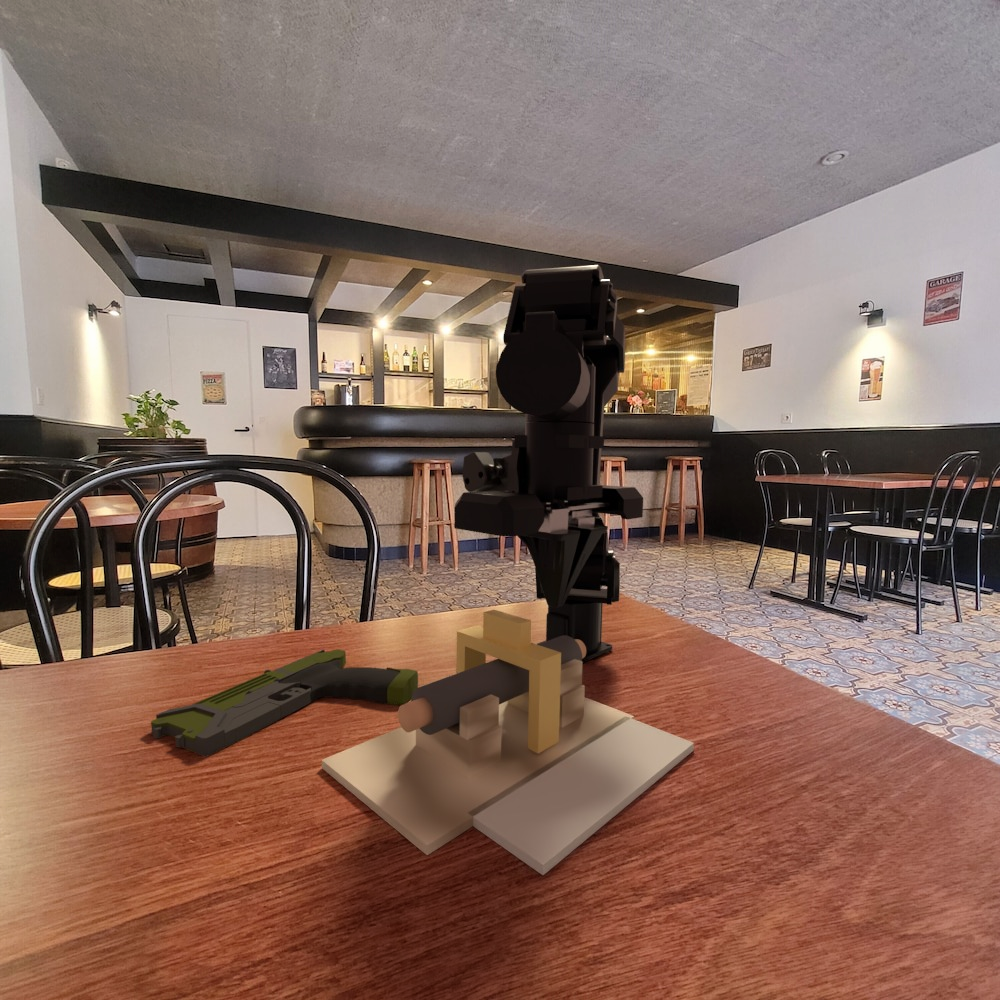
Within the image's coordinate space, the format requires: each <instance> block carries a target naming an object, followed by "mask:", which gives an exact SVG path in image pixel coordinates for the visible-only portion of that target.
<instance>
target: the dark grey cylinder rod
mask: <svg viewBox="0 0 1000 1000" xmlns="http://www.w3.org/2000/svg"><path fill="white" fill-rule="evenodd" d="M545 641H546V640H545ZM542 642H543V641H542ZM539 643H540V642H539ZM538 645H540V646H543V647H546V648H549V649H552V650H555V651H558V652H561V665H562V664H564V663H567V662H569V661H571V660H574V659H576V660H579V661H582V658H584V657H585V655H586V647H585V645H584V643H583V642H582V641H581V640H579V639H575V640H574V639H573V638H572V637H570V636H566V635H563V636H560V637H557V638H554V639H551V640H549V641H546V642H543V643H540V644H538ZM448 676H449V677H447V676H445V677H446V678H444V677H442V678H443V679H442V678H440V679H441V680H439V679H437V680H438V681H436V680H434V681H435V682H433V681H431V682H432V683H430V682H429V683H430V684H428V683H426V684H427V685H425V684H423V685H424V686H422V685H420V686H421V687H419V686H418V687H419V688H417V689H415V690H414V692H413V694H412V697H411V700H410V701H408V702H407V703H406V704H402V705H400V706H399V708H398V710H397V718H398V722H399V725H400V727H402V728H403V730H404V731H406V732H412V731H414V730H416V729H420V730H421V731H422V732H424V733H425V734H428V735H432V734H435V733H437V732H439V731H441V730H444V729H446V728H448V727H450V726H452V725H455V724H457V723H459V722H460V707H462V706H465V705H467V704H469V703H472V702H474V701H476V700H479V699H481V698H484V697H486V696H488V695H491V694H492V695H494V696H496V697H498V698H499V704H502V703H504V702H506V701H508V700H511V699H513V698H515V697H517V696H520V695H522V694H524V693H526V692H529V670H527V669H524V668H522V667H519V666H516V665H514V664H511V663H508V662H506V661H503V660H501V659H498V658H496V659H494V660H490V661H488V662H486V663H485V664H482V665H479V666H477V667H474V668H471V669H468V670H466V671H463V672H460V673H457V674H456V673H454V674H452V675H448Z"/></svg>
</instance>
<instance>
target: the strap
mask: <svg viewBox="0 0 1000 1000" xmlns="http://www.w3.org/2000/svg"><path fill="white" fill-rule="evenodd" d="M482 615H483V616H482V617H483V621H482V625H480V624H477V625H473V626H470V627H466V628H464V629H459V630H456V665H455V666H456V673H455V674H457V673H460V672H463V671H466V670H468V669H471V668H474V667H477V666H479V665H482V664H485V663H487V662H486V661H487V660H486V659H487V657H486V656H487V655H488V656H490V657H493V658H496V659H501V660H503V661H506V662H508V663H511V664H514V665H516V666H519V667H522V668H524V669H527V670H529V715H528V749H530V750H532V751H534V752H536V753H540V752H542V751H544V750H545V749H547V748H549V747H550V746H552V745H554V744H556V743H557V742H559V716H560V679H561V652H558V651H555V650H552V649H549V648H546V647H543V646H540V645H537V643H534V642H532V641H531V638H532V637H531V636H532V633H531V632H532V620H531V619H528V618H523V617H521V616H516V615H513V614H510V613H507V612H504V611H501V610H497V609H491V610H488V611H483V614H482Z"/></svg>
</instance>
